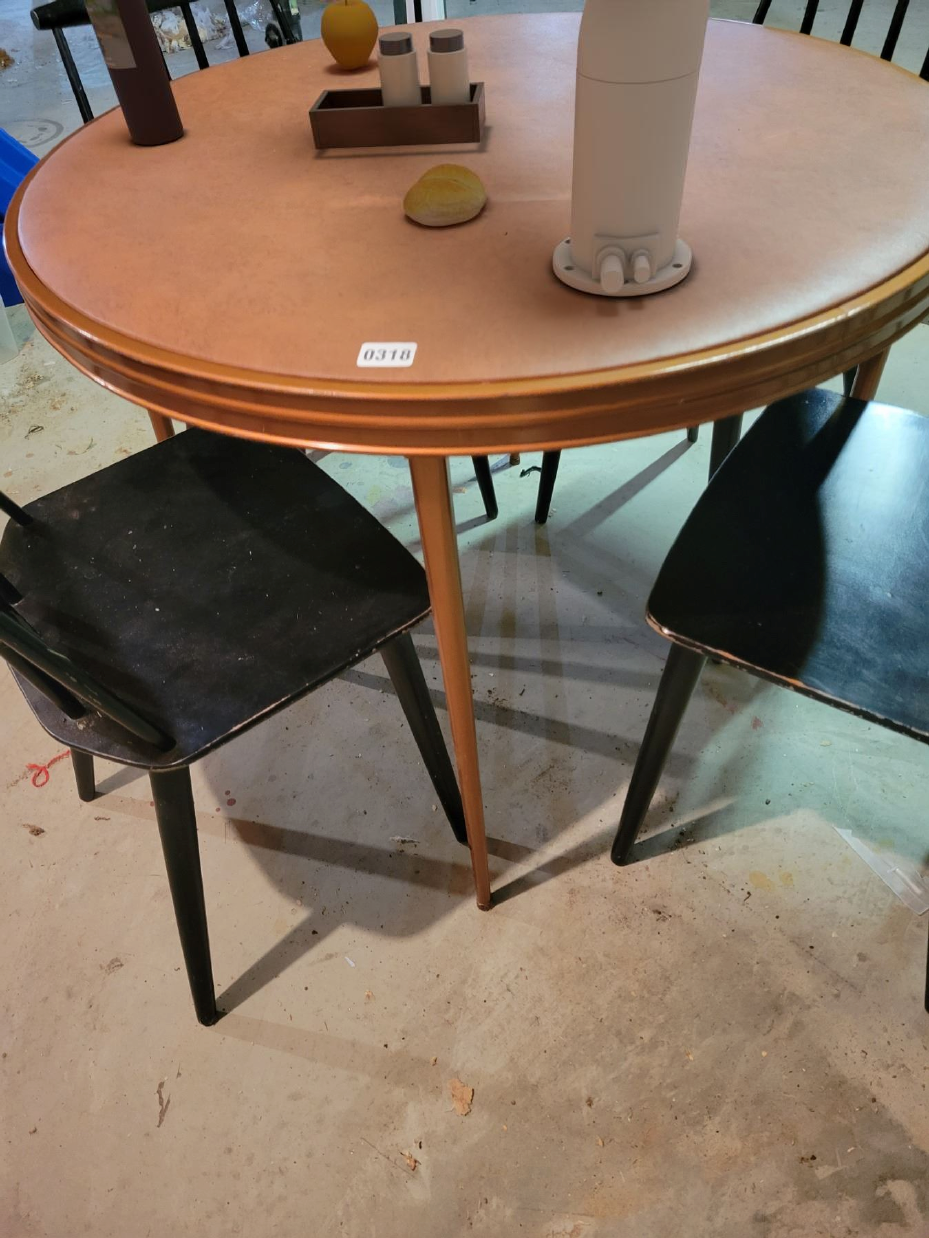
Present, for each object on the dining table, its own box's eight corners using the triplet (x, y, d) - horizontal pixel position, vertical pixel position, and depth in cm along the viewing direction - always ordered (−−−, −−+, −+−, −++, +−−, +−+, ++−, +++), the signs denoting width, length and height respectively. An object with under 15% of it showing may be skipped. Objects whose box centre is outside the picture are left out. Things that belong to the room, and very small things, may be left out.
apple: (374, 76, 119) (365, 3, 112) (319, 77, 120) (307, 5, 113) (388, 59, 124) (380, -11, 118) (336, 61, 126) (325, -9, 119)
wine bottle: (130, 135, 107) (23, -172, 85) (181, 125, 109) (89, -180, 86) (135, 150, 103) (23, -170, 80) (187, 140, 104) (92, -178, 82)
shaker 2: (470, 137, 95) (464, 37, 87) (431, 138, 95) (423, 40, 88) (473, 124, 98) (468, 27, 90) (436, 125, 98) (428, 29, 91)
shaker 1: (422, 139, 95) (412, 40, 88) (384, 140, 96) (371, 43, 88) (427, 126, 99) (418, 30, 91) (390, 127, 99) (378, 32, 92)
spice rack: (486, 127, 100) (484, 82, 96) (480, 151, 94) (478, 103, 90) (331, 134, 102) (323, 90, 98) (316, 157, 96) (308, 111, 93)
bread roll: (394, 226, 81) (389, 185, 78) (428, 193, 86) (424, 153, 83) (467, 233, 79) (464, 191, 76) (497, 198, 84) (495, 158, 81)
